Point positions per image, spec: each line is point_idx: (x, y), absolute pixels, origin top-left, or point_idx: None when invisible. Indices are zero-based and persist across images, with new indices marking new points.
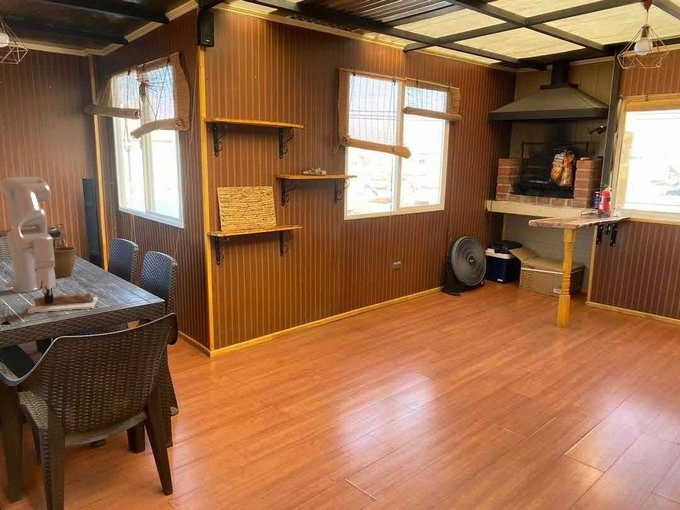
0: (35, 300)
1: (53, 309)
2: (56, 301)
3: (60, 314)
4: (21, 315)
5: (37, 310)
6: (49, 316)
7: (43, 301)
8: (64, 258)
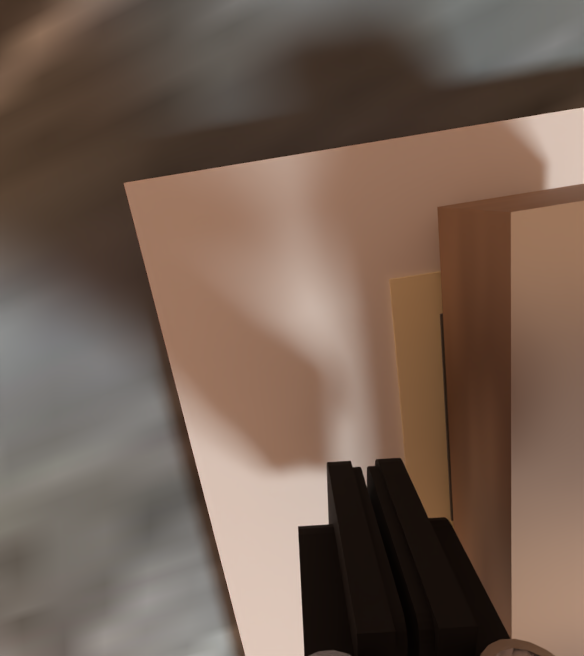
0: (482, 236)
1: (221, 548)
2: None
3: (99, 630)
4: (36, 111)
5: (167, 348)
6: (10, 546)
7: (473, 388)
8: None
